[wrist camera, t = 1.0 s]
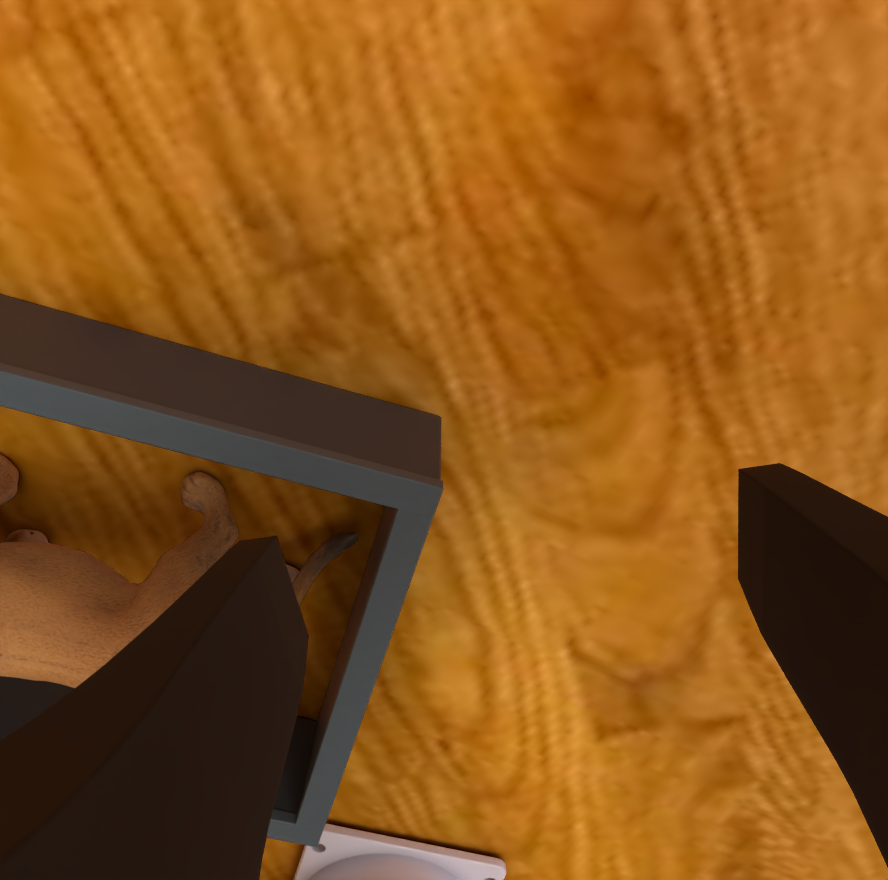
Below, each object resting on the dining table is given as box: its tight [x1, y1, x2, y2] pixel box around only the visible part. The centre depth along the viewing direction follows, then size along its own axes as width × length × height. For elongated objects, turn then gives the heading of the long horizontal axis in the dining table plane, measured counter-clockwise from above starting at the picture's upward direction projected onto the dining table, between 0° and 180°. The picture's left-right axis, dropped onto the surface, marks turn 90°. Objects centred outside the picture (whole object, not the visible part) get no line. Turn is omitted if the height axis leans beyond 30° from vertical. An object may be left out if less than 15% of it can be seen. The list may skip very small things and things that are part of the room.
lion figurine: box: [0, 454, 358, 688], centre depth 19 cm, size 15×5×9 cm, turn 90°
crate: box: [0, 294, 443, 847], centre depth 22 cm, size 14×18×4 cm
